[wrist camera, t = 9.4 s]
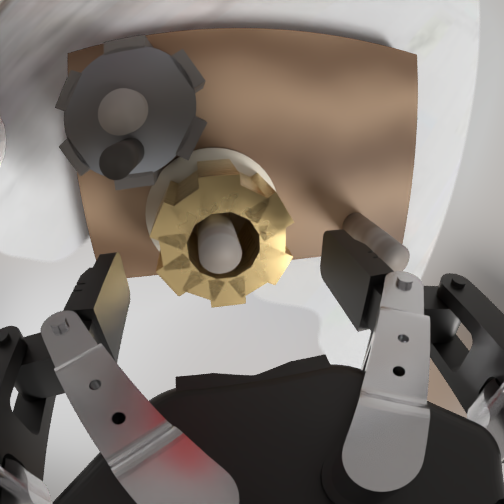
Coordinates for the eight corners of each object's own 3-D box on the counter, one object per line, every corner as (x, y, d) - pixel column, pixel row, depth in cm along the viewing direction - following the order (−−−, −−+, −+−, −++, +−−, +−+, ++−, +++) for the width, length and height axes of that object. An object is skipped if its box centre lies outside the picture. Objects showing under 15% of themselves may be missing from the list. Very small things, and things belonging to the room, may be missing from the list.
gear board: (79, 58, 13) (7, 33, 5) (399, 56, 16) (489, 52, 9) (109, 269, 19) (77, 355, 12) (387, 238, 22) (455, 296, 15)
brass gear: (153, 166, 15) (141, 184, 11) (272, 156, 16) (295, 170, 12) (168, 271, 18) (165, 312, 14) (272, 260, 19) (291, 297, 15)
